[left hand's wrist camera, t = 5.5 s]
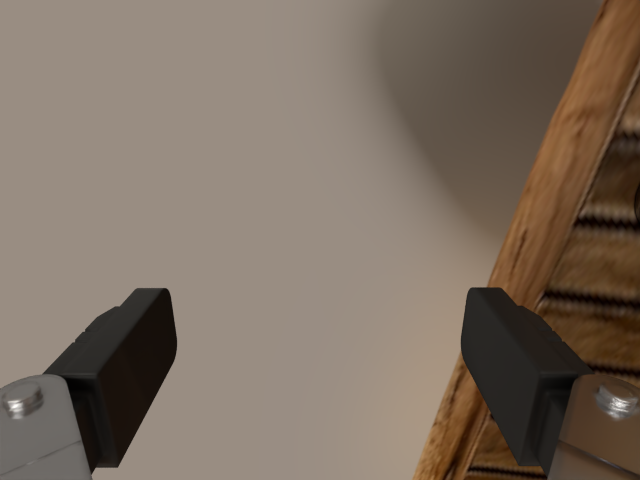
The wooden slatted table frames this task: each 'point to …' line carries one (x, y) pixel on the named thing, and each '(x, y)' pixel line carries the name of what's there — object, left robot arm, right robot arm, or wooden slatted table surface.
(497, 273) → the wooden slatted table surface
